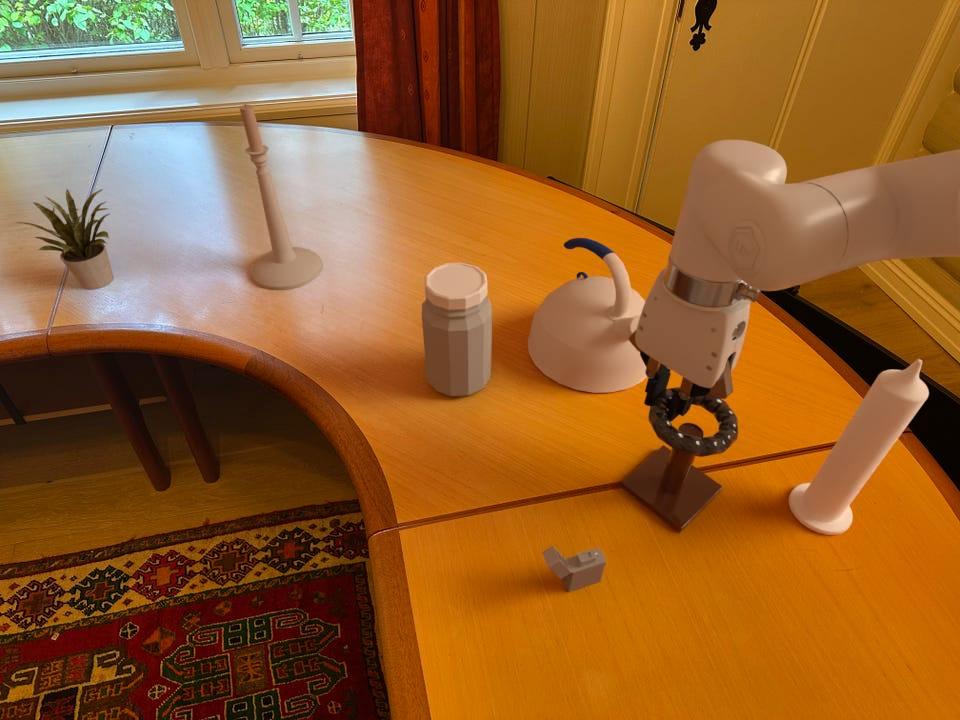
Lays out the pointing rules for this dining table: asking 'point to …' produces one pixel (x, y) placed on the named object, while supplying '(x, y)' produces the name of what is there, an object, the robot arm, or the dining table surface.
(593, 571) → the lighter
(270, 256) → the candlestick
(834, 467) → the candle
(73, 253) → the house plant
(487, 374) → the jar
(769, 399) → the dining table surface
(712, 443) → the studded rubber donut
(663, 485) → the square plate with peg
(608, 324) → the kettle
